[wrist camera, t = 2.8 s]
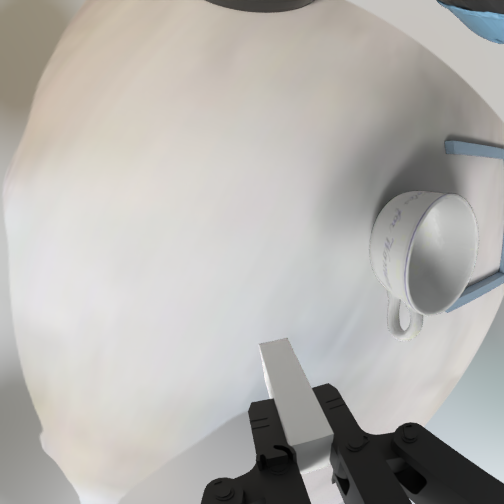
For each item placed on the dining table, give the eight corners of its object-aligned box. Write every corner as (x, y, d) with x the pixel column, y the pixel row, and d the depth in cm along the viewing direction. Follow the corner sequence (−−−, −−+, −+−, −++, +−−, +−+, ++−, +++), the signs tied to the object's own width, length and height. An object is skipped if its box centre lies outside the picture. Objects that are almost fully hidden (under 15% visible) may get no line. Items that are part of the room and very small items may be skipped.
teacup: (386, 166, 23) (443, 166, 16) (443, 219, 26) (493, 234, 18) (320, 289, 26) (358, 331, 18) (389, 322, 28) (428, 358, 21)
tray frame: (444, 141, 23) (453, 140, 22) (506, 150, 25) (512, 151, 23) (440, 308, 29) (447, 312, 28) (501, 278, 31) (507, 280, 29)
